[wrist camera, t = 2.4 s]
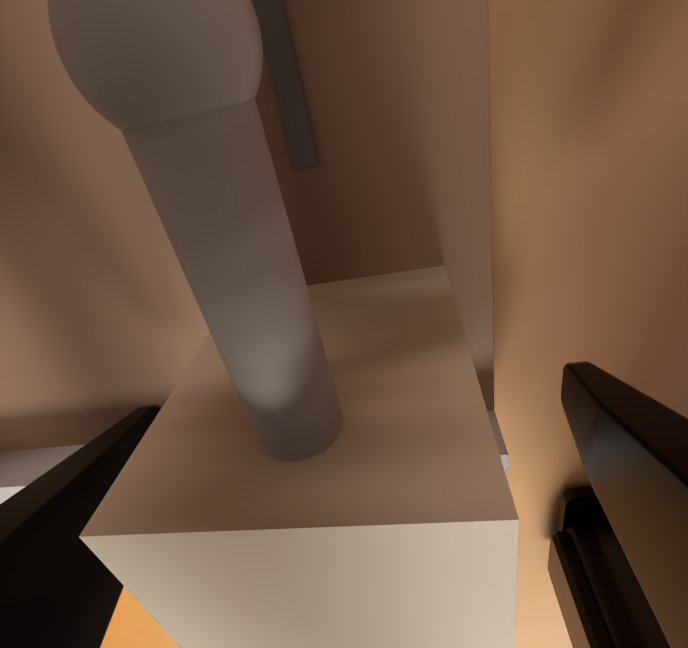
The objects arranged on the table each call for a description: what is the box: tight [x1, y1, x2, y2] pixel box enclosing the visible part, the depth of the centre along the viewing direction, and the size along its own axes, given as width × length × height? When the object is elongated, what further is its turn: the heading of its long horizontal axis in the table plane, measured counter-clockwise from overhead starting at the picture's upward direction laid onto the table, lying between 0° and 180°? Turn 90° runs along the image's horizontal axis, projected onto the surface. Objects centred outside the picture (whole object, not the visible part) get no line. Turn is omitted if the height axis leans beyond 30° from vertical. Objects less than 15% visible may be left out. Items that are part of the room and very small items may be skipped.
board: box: [0, 0, 508, 504], centre depth 11 cm, size 20×13×4 cm, turn 102°
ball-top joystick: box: [48, 0, 519, 648], centre depth 7 cm, size 5×9×6 cm, turn 12°
